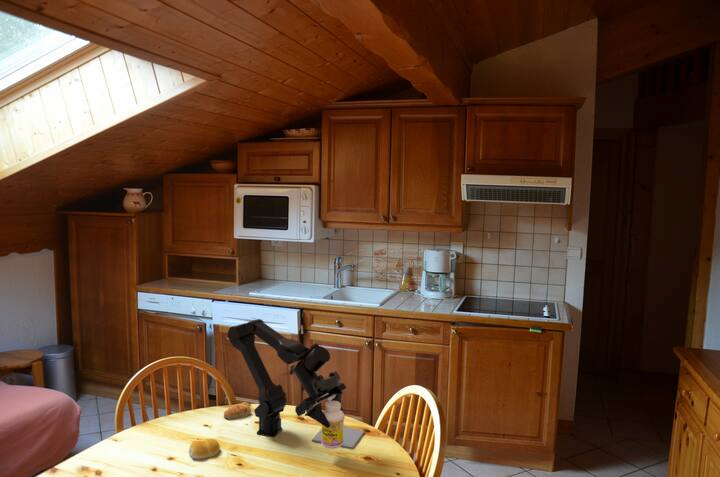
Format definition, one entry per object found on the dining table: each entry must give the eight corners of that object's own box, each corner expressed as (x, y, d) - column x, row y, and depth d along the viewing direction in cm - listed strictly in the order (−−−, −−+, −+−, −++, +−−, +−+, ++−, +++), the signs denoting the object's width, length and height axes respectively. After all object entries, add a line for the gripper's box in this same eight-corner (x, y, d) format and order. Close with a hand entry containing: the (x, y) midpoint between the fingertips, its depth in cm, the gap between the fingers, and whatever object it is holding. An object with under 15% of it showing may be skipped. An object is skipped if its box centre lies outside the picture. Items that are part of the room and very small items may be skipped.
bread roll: (223, 454, 159) (223, 442, 159) (193, 462, 154) (193, 449, 154) (214, 443, 166) (214, 431, 166) (186, 450, 161) (185, 438, 161)
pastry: (229, 422, 181) (229, 411, 180) (220, 416, 186) (219, 405, 185) (252, 414, 187) (252, 404, 187) (243, 408, 192) (243, 398, 192)
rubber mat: (311, 441, 168) (311, 439, 168) (326, 425, 179) (326, 423, 179) (352, 449, 163) (352, 447, 163) (364, 432, 175) (364, 430, 175)
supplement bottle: (317, 447, 156) (318, 406, 154) (326, 437, 162) (327, 397, 161) (338, 451, 153) (339, 409, 152) (346, 441, 160) (347, 401, 158)
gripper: (302, 373, 150) (331, 421, 145) (342, 357, 165) (370, 399, 160) (283, 393, 155) (310, 439, 150) (323, 375, 170) (349, 417, 165)
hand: (336, 423), depth 156 cm, fingers closed on supplement bottle, 7 cm apart
